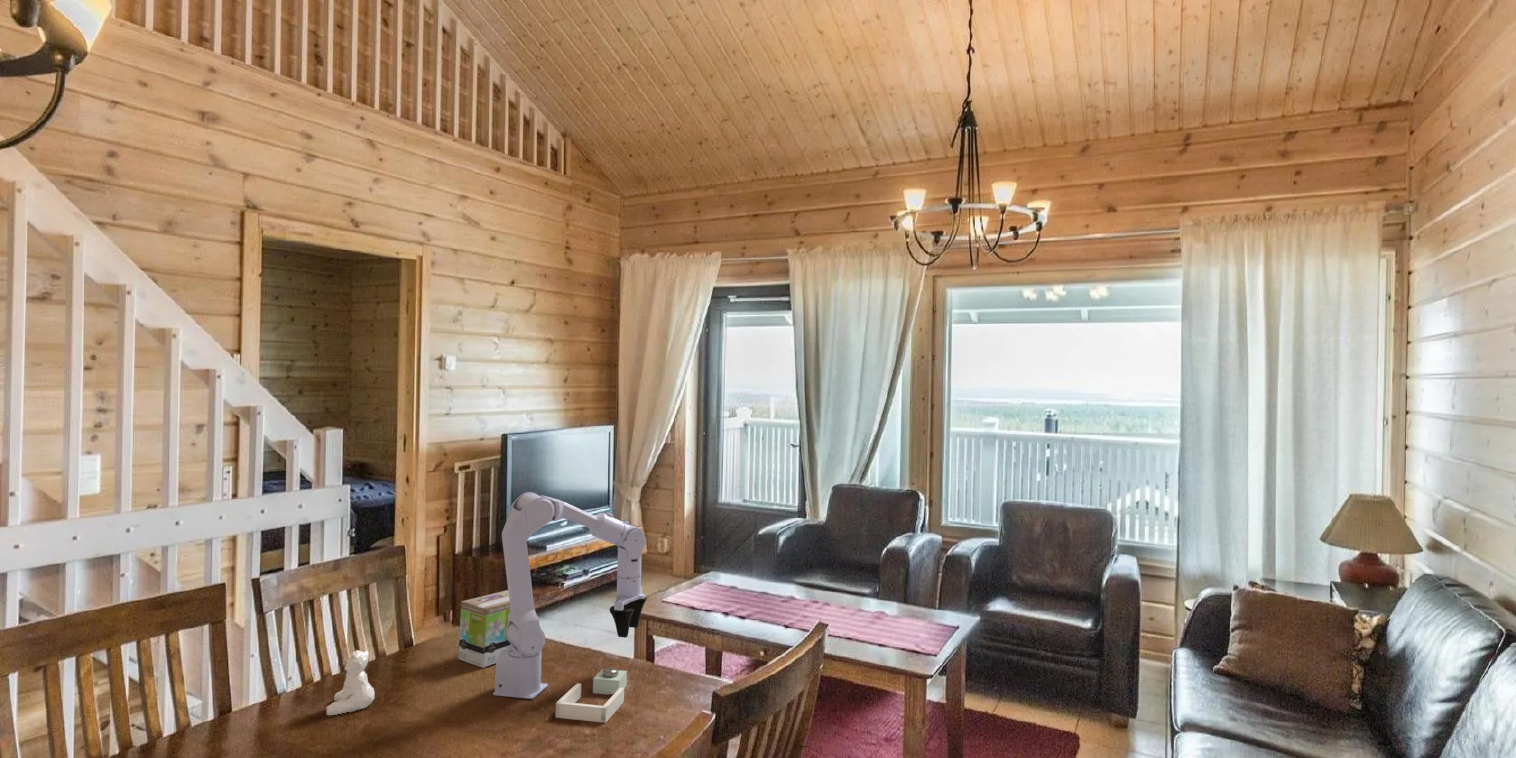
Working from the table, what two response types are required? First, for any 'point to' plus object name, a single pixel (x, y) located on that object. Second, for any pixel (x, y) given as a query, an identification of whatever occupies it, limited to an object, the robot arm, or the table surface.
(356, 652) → the seated beast figurine
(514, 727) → the table surface
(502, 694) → the robot arm
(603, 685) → the block
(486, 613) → the tea box
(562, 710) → the housing bay
